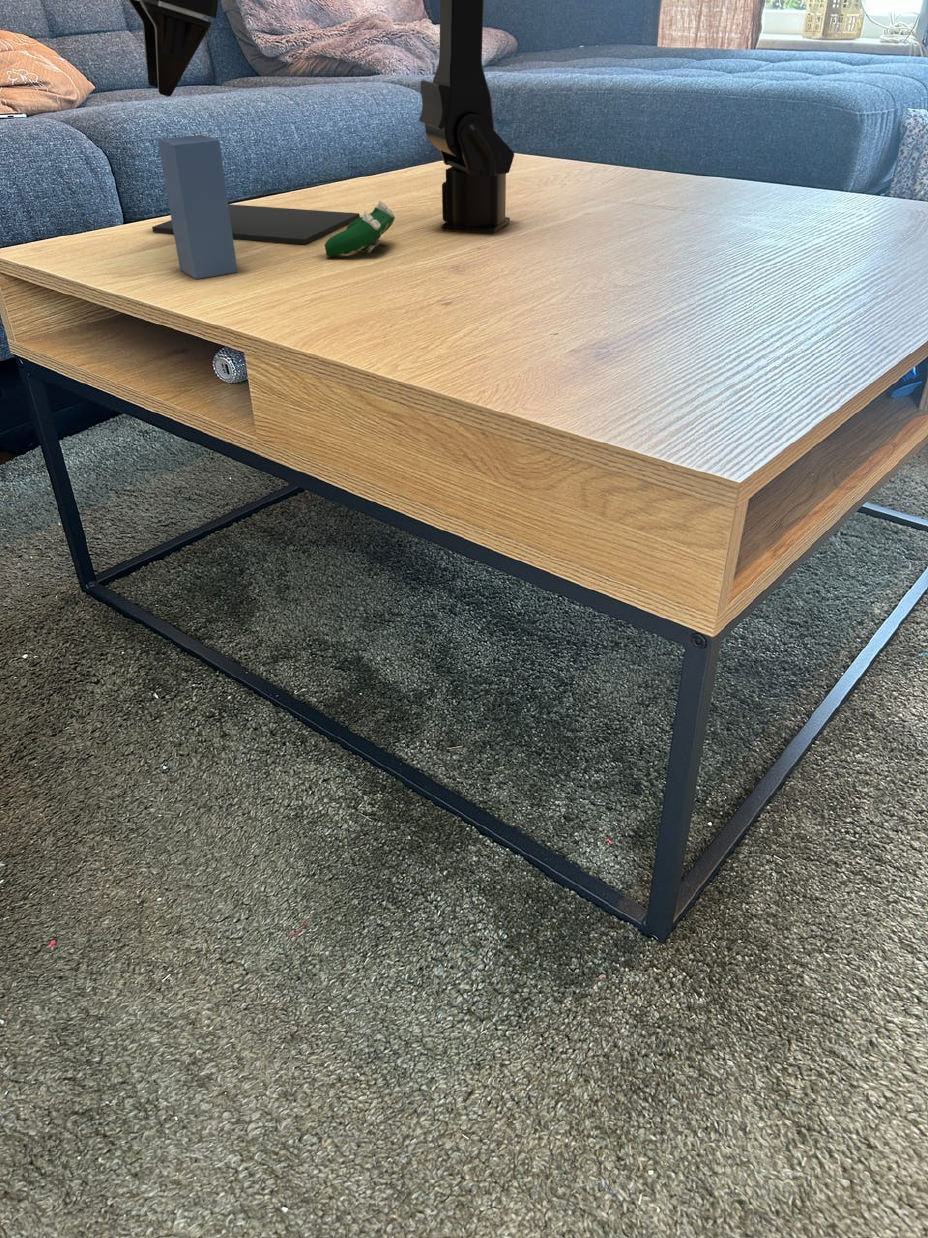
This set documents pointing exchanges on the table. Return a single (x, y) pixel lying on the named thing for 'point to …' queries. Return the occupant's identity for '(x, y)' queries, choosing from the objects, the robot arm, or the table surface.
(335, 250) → the green toy shoe
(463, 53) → the robot arm
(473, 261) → the table surface
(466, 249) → the table surface
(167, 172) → the blue block
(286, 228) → the mat
